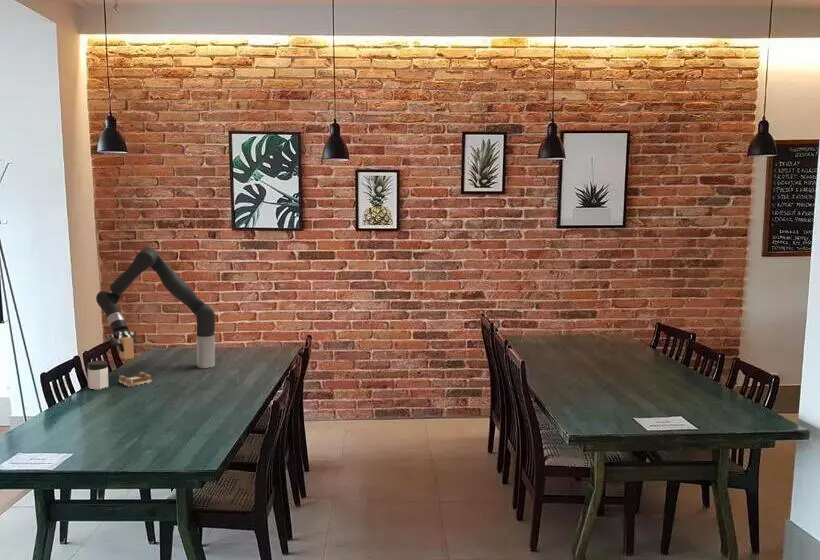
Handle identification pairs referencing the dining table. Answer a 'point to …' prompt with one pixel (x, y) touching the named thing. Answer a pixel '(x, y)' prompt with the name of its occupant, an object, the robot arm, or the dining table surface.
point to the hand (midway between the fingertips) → (128, 350)
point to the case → (127, 348)
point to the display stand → (135, 379)
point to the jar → (97, 374)
